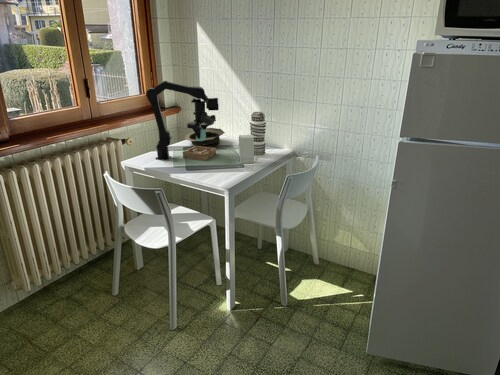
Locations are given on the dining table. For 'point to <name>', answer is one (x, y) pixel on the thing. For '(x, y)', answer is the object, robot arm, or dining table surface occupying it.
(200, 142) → the stone bowl
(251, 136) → the skincare box
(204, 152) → the socket
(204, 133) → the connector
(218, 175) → the dining table surface
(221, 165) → the dining table surface
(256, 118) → the decorative candle
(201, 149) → the walled box
